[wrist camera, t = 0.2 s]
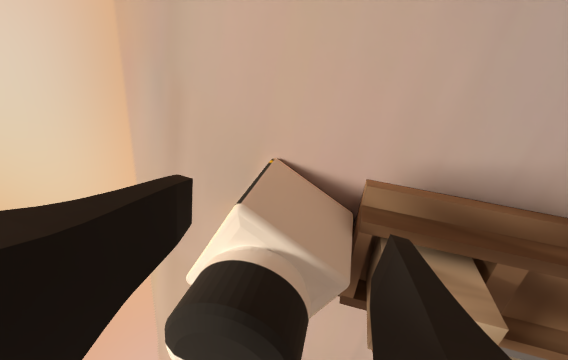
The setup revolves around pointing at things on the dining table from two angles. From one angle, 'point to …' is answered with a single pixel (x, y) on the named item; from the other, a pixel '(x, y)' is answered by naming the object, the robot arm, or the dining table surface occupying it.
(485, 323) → the block
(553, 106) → the dining table surface
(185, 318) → the medicine bottle
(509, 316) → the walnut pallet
